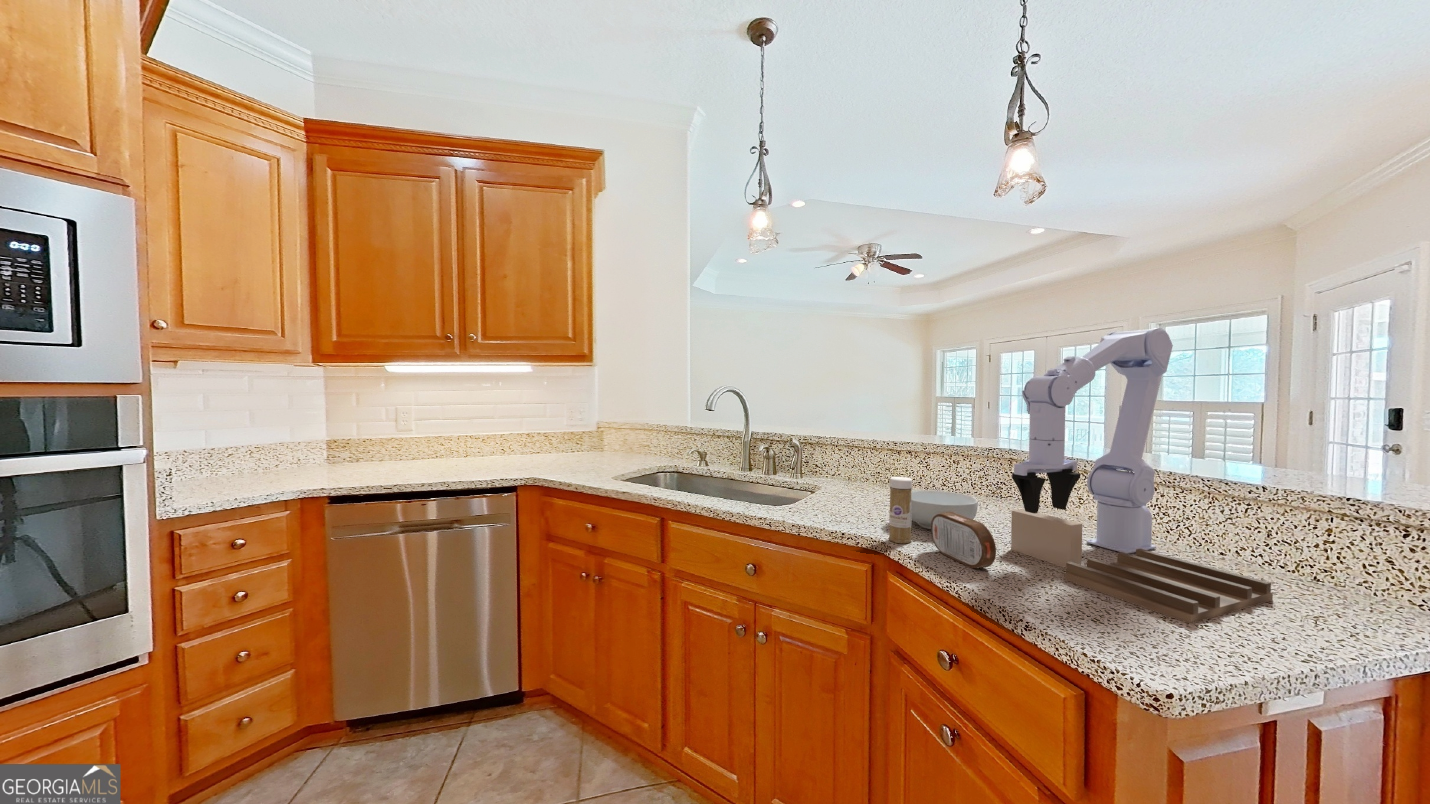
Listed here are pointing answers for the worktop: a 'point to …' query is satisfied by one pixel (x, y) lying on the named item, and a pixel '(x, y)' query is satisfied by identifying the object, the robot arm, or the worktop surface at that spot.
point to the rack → (1170, 585)
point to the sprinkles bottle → (900, 509)
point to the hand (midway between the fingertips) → (1045, 510)
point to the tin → (963, 539)
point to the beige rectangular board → (1046, 537)
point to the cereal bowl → (940, 505)
